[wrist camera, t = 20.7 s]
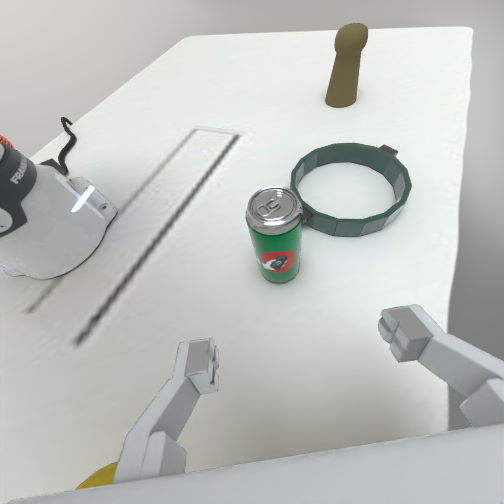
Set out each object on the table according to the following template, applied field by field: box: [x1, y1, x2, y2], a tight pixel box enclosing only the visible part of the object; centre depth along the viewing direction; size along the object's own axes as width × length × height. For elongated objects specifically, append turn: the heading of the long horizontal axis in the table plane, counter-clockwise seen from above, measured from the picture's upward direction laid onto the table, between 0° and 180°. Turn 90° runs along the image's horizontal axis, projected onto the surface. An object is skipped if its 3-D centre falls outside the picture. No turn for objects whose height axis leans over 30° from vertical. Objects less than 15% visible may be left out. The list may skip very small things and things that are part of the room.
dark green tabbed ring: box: [290, 143, 412, 237], centre depth 32 cm, size 15×18×3 cm
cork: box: [325, 23, 368, 107], centre depth 40 cm, size 6×6×11 cm
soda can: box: [246, 186, 303, 283], centre depth 23 cm, size 5×5×12 cm
